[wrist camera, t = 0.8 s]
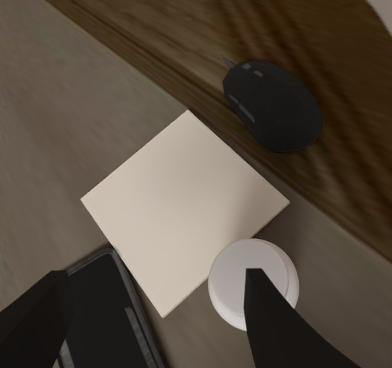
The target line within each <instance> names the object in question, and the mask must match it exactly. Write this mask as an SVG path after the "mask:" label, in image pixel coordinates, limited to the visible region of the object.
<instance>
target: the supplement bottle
mask: <svg viewBox="0 0 392 368" xmlns="http://www.w3.org/2000/svg"><path fill="white" fill-rule="evenodd" d="M246 268H262V269H263V270H264V272H265V273H266V275H267V276H268V277H269V279H270V280H271V281H272V283H273V284H274V285H275V287H276V288H277V289H278V290H279V292H280V293H281V294H282V295H283V297H284V298H285V299H286V300H287V301H288V302H289V304H290V305H291V306H292V307H293V308H294V309H295V306H296V304H297V300H298V296H299V279H298V275H297V271H296V269H295V266H294V264H293V263H292V261H291V259H290V258H289V257H288V255H287V254H286V253H285V252H284V251H283V250H282V249H280V248H279V247H278V246H276V245H274V244H272V243H270V242H268V241H265V240H261V239H241V240H237V241H234V242H232V243H230V244H229V245H227V246H226V247H225V248H224V249H223V250H222V251H221V252H220V253H219V254H218V255H217V257H216V258H215V260H214V262H213V264H212V266H211V269H210V272H209V277H208V289H209V295H210V298H211V301H212V303H213V305H214V307H215V309H216V311H217V312H218V313H219V314H220V316H221V317H222V318H223V319H224V320H225V321H227V322H228V323H229V324H231V325H233V326H234V327H236V328H238V329H241V330H244V331H247V330H246V323H245V316H244V308H243V306H244V291H245V276H246Z"/></svg>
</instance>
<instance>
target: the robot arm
mask: <svg viewBox="0 0 392 368" xmlns="http://www.w3.org/2000/svg"><path fill="white" fill-rule="evenodd" d="M243 308H244V316H245V323H246V330H247V335H248V339H249V343H250V347H251V351H252V355H253V359H254V362H255V366H256V368H361V367H359V366H358V365H356V364H355V363H354V362H352V361H351V360H350V359H348V358H347V357H346V356H345V355H343V354H342V353H341V352H339V351H338V350H337V349H335V348H334V347H333V346H332V345H331V344H329V343H328V342H327V341H326V340H325V339H324V338H323V337H321V336H320V335H319V334H318V333H317V332H316V331H315V330H314V329H313V328H312V327H311V326H310V325H309V324H308V323H307V322H306V321H305V320H304V319H303V318H302V317H301V316H300V315H299V314H298V313H297V312H296V310H295V309H294V308H293V307H292V306H291V305H290V304H289V302H288V301H287V300H286V299H285V298H284V297H283V295H282V294H281V293H280V292H279V290H278V289H277V288H276V287H275V285H274V284H273V283H272V281H271V280H270V279H269V277H268V276H267V275H266V273H265V272H264V270H263V269H262V268H246V276H245V291H244V306H243ZM73 313H74V304H73V299H72V294H71V289H70V284H69V279H68V274H67V270H64V271H50V272H49V273H48V274H47V275H45V276H44V277H43V278H42V279H40V280H39V281H38V282H37V283H36V284H34V285H33V286H32V287H31V288H30V289H28V290H27V291H26V292H25V293H24V294H22V295H21V296H20V297H19V298H18V299H16V300H15V301H14V302H13V303H11V304H10V305H9V306H8V307H6V308H5V309H4V310H2V311H1V312H0V368H52V367H53V365H54V363H55V361H56V359H57V356H58V354H59V352H60V350H61V347H62V345H63V343H64V340H65V338H66V336H67V333H68V330H69V327H70V324H71V320H72V317H73Z"/></svg>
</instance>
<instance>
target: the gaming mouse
mask: <svg viewBox="0 0 392 368" xmlns="http://www.w3.org/2000/svg"><path fill="white" fill-rule="evenodd" d="M221 56H222V55H221ZM222 58H223V60H224V61H225V62H226V63H227V66H228V67H229V68H230V70H229V72H228V74H227V75H226V77H225V79H224V80H223V88H224V95H225V98H226V100H227V101H228V103H229V104H230V106H231V107H232V109H233V110H234V111H235V113H236V114H237V115H238V116H239V118H240V119H241V120H242V122H243V123H244V124H245V126H246V127H247V129H248V130H249V132H250V133H251V134H252V135H253V136H254V138H255V139H256V140H257V141H258V142H259V143H261V144H262V145H263V146H265V147H266V148H268V149H269V150H271V151H275V152H286V151H298V150H301V149H303V148H304V147H306V146H308V145H309V144H311V143H312V142H314V141H315V140H316V139H317V138H318V135H319V133H320V131H321V129H322V126H323V122H322V118H321V115H320V111H319V107H318V103H317V100H316V99H315V97H314V96H313V95H312V94H311V93H310V91H309V90H308V89H307V88H306V87H305V86H304V84H303V83H302V82H300V81H299V80H298V79H297V78H296V77H294V76H293V75H292V74H291V73H289V72H288V71H286V70H284V69H282V68H281V67H279V66H277V65H275V64H273V63H270V62H267V61H265V60H255V61H249V62H243V63H240V64H238V65H236V66H235V65H234V64H233V63H232V62H229V61H228V60H227V59H226V58H225V57H223V56H222Z"/></svg>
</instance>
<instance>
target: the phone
mask: <svg viewBox="0 0 392 368" xmlns="http://www.w3.org/2000/svg"><path fill="white" fill-rule="evenodd" d="M67 274H68V279H69V284H70V289H71V294H72V299H73V304H74V313H73V317H72V320H71V324H70V327H69V330H68V333H67V336H66V338H65V340H64V343H63V345H62V347H61V350H60V352H59V354H58V356H57V360H58V364H59V367H60V368H169V367H168V365H167V364H166V362H165V361H166V360H165V357H164V355H163V353H162V350H160V348H159V345H158V343H157V340H156V338H155V336H154V333H153V331H152V329H151V326H150V324H149V321H148V319H147V317H146V314H145V312H144V310H143V307H142V305H141V303H140V300H139V298H138V295H137V293H136V291H135V288H134V286H133V284H132V281H131V279H130V276H129V274H128V272H127V269H126V267H125V265H124V262H123V260H122V259H121V257H120V256H119V254H118V253H117V252H116V250H114V249H112V248H103V249H101V250H99V251H98V252H96V253H94V254H93V255H91V256H90V257H88V258H86V259H85V260H83V261H81V262H80V263H78V264H76V265H75V266H73V267H71V268H70V269H68V270H67Z"/></svg>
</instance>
